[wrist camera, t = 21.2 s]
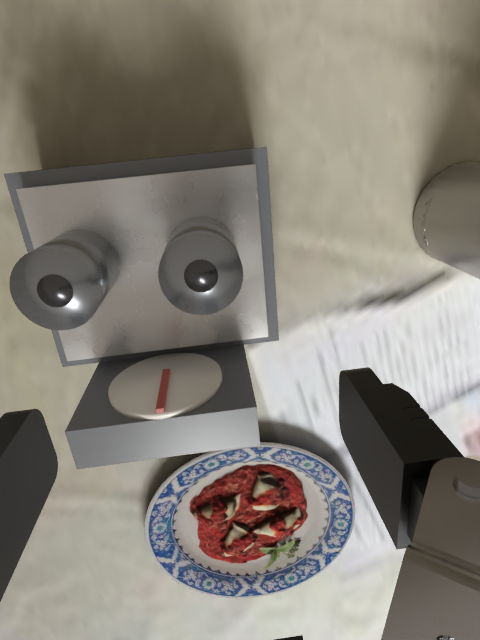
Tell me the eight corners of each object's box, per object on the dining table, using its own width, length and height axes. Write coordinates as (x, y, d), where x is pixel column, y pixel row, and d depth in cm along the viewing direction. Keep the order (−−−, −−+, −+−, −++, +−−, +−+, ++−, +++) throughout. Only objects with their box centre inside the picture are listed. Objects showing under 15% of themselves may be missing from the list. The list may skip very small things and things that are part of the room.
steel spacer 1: (95, 217, 28) (68, 233, 22) (132, 280, 30) (115, 309, 24) (32, 247, 28) (-10, 271, 23) (72, 308, 30) (43, 343, 24)
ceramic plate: (109, 473, 47) (104, 493, 44) (320, 401, 45) (328, 417, 43) (193, 603, 57) (192, 626, 54) (368, 547, 55) (376, 568, 53)
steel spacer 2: (232, 212, 28) (239, 229, 23) (239, 280, 30) (246, 310, 25) (161, 220, 28) (150, 239, 23) (173, 288, 30) (165, 320, 25)
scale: (254, 148, 34) (293, 144, 20) (268, 337, 41) (304, 438, 27) (41, 169, 34) (-84, 182, 19) (92, 358, 41) (30, 475, 26)
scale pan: (254, 163, 28) (255, 164, 27) (266, 332, 33) (268, 336, 32) (21, 188, 27) (16, 189, 27) (70, 356, 32) (67, 361, 32)
